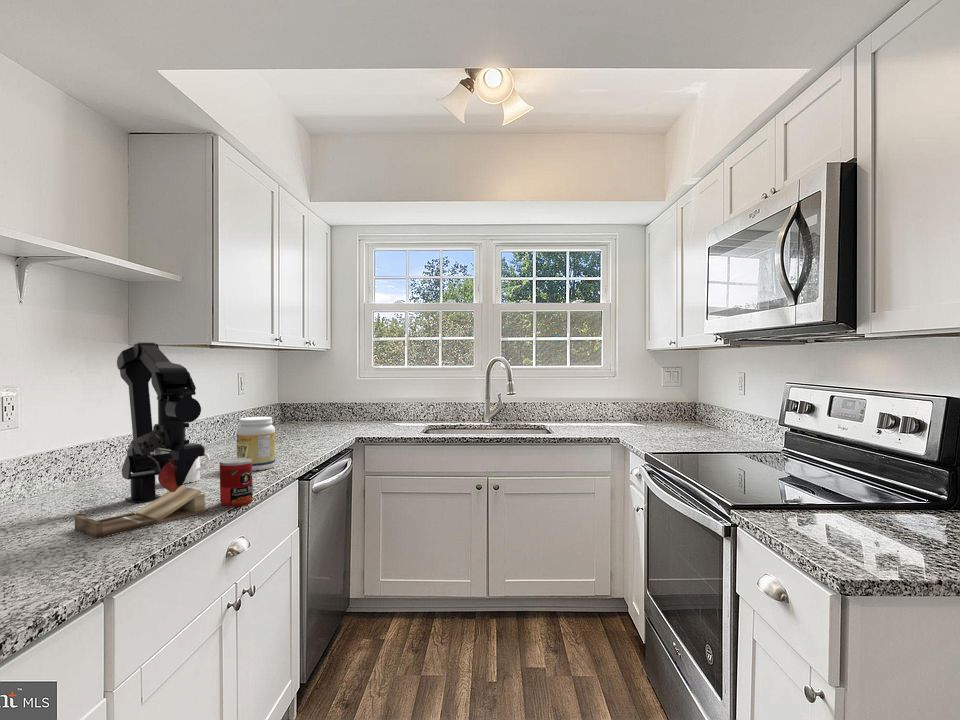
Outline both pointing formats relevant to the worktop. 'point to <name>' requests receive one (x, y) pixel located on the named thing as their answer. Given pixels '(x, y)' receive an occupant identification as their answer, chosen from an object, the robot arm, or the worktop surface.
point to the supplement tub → (257, 442)
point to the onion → (168, 477)
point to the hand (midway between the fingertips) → (172, 484)
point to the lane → (124, 522)
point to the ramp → (174, 503)
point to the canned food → (236, 482)
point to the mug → (196, 470)
